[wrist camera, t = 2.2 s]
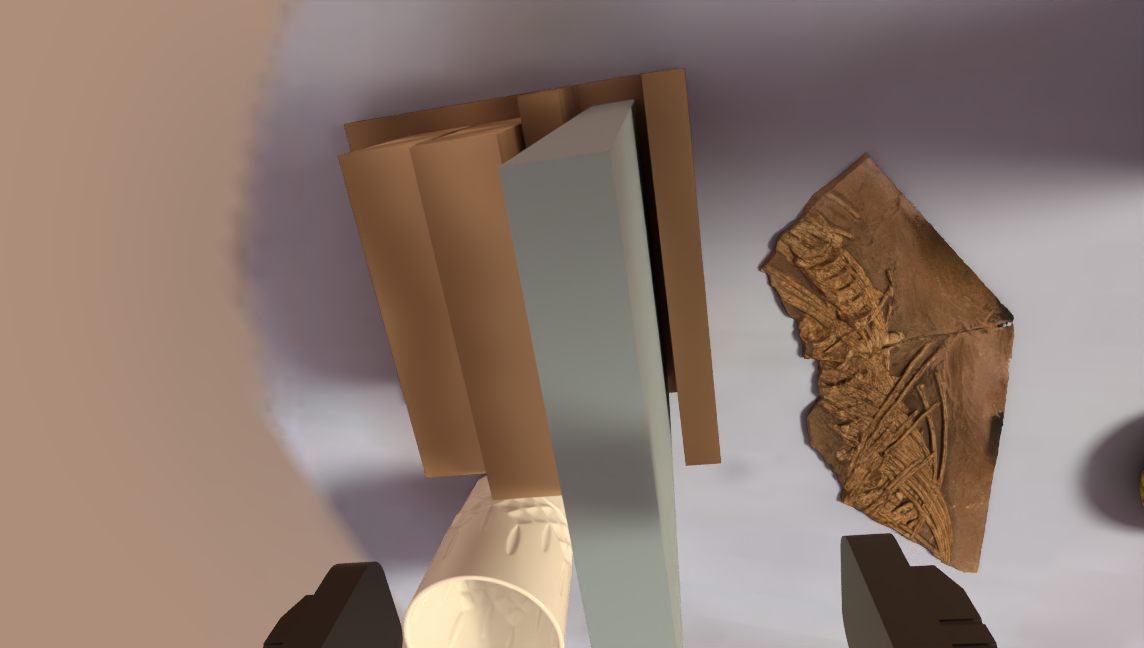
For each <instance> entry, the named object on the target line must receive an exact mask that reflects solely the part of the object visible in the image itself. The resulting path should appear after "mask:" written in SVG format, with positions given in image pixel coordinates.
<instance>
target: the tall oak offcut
mask: <svg viewBox="0 0 1144 648" xmlns="http://www.w3.org/2000/svg"><path fill="white" fill-rule="evenodd" d="M525 149H526V146H525V140H524V134H523V129H522V123H521V118H515V119H509V120H502V121H496V122H490V123H484V124H479V125H476V126H473V127H470V128H467V129H464V130H461V131H458V132H455V133H452V134H449V135H446V136H443V137H440V138H437V139H434V140H431V141H428V142H425V143H422V144H419V145H416V146H413V147H410V148H409V150H410V154H411V159H412V163H413V167H414V171H415V175H416V180H417V184H418V188H419V192H420V196H421V201H422V205H423V209H424V213H425V218H426V222H427V226H428V230H429V234H430V239H431V243H432V247H433V251H434V255H435V260H436V264H437V268H438V272H439V277H440V281H441V285H442V289H443V293H444V298H445V302H446V306H447V310H448V314H449V319H450V323H451V327H452V331H453V335H454V340H455V344H456V348H457V352H458V357H459V361H460V365H461V369H462V373H463V378H464V382H465V386H466V390H467V394H468V399H469V403H470V407H471V411H472V416H473V420H474V424H475V428H476V432H477V437H478V441H479V445H480V449H481V453H482V458H483V462H484V466H485V470H486V474H487V479H488V483H489V487H490V491H491V496H492V500H504V499H519V498H534V497H549V496H562V493H561V488H560V483H559V478H558V473H557V468H556V462H555V457H554V452H553V447H552V442H551V437H550V431H549V426H548V421H547V416H546V411H545V406H544V400H543V395H542V390H541V385H540V380H539V375H538V369H537V364H536V359H535V354H534V349H533V344H532V339H531V333H530V328H529V323H528V318H527V313H526V307H525V302H524V297H523V292H522V287H521V282H520V277H519V271H518V266H517V261H516V256H515V251H514V246H513V240H512V235H511V230H510V225H509V220H508V215H507V209H506V204H505V199H504V194H503V189H502V184H501V178H500V173H499V168H498V167H499V166H501V165H502V164H504V163H505V162H507V161H508V160H510V159H511V158H513V157H514V156H516V155H517V154H519V153H521V152H522V151H524V150H525Z"/></svg>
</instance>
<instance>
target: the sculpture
mask: <svg viewBox="0 0 1144 648" xmlns="http://www.w3.org/2000/svg"><path fill="white" fill-rule="evenodd" d="M1140 491H1141V492H1140V493H1141V496H1140V498H1141V502H1142V505H1143V507H1144V471H1143V472H1142V475H1141V482H1140Z"/></svg>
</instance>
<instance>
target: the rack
mask: <svg viewBox="0 0 1144 648" xmlns="http://www.w3.org/2000/svg"><path fill="white" fill-rule="evenodd" d="M632 99H635V103H636V111H637V120H638V128H639V137H640V145H641V154H642V162H643V170H644V179H645V187H646V196H647V204H648V213H649V221H650V229H651V238H652V246H653V255H654V263H655V272H656V280H657V288H658V297H659V305H660V314H661V322H662V331H663V339H664V347H665V356H666V364H667V373H668V387H669V393H672V392H678V401H679V410H680V419H681V427H682V436H683V445H684V454H685V462H686V466H688V465H702V464H716V463H721V457H720V446H719V435H718V424H717V413H716V403H715V392H714V381H713V370H712V359H711V348H710V338H709V327H708V316H707V305H706V294H705V284H704V273H703V262H702V251H701V240H700V230H699V219H698V208H697V197H696V186H695V175H694V165H693V154H692V143H691V132H690V121H689V111H688V100H687V89H686V78H685V68H674V69H668V70H662V71H656V72H650V73H644V74H639V75H633V76H627V77H621V78H615V79H609V80H603V81H597V82H591V83H585V84H579V85H573V86H567V87H561V88H555V89H549V90H543V91H537V92H531V93H525V94H519V95H513V96H508V97H502V98H496V99H490V100H484V101H478V102H472V103H466V104H460V105H454V106H448V107H442V108H436V109H430V110H424V111H418V112H412V113H406V114H400V115H394V116H388V117H383V118H377V119H371V120H365V121H359V122H353V123H348V124H344V127H345V130H346V134H347V138H348V142H349V145H350V149H351V152H354V151H357V150H361V149H365V148H368V147H372V146H375V145H379V144H382V143H386V142H389V141H393V140H396V139H400V138H403V137H407V136H410V135H416V134H422V133H428V132H435V131H441V130H447V129H453V128H459V127H465V126H471V127H473V126H476V125H479V124H484V123H490V122H496V121H502V120H509V119H515V118H521V123H522V129H523V134H524V140H525V146H526V149H527V148H528V147H530V146H531V145H533V144H534V143H536V142H537V141H539V140H540V139H542V138H543V137H545V136H547V135H548V134H550V133H551V132H553V131H554V130H556V129H557V128H559V127H560V126H562V125H563V124H565V123H566V122H568V121H570V120H571V119H573V118H574V117H576V116H577V115H579V114H580V113H582V112H583V111H585V110H586V109H588V108H589V107H591V106H595V105H601V104H607V103H613V102H620V101H626V100H632Z"/></svg>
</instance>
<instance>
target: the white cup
mask: <svg viewBox="0 0 1144 648" xmlns="http://www.w3.org/2000/svg"><path fill="white" fill-rule="evenodd" d="M572 551H573V550H572V545H571V540H570V535H569V530H568V524H567V519H566V514H565V509H564V504H563V499H562V496H549V497H534V498H519V499H504V500H492V496H491V491H490V487H489V483H488V479H487V475H486V476H484V477H483V478H481V479H479V480H478V481H477V483H476V484H475V486H474V487H473V489H472V491H471V492H470V494H469V496H468V497H467V499H466V501H465V503H464V505H463V507H462V509H461V510H460V511H459V512H458V513H457V515H456V516H455V518H454V520H453V522H452V524H451V526H450V527H449V529H448V530H447V533H446V534H445V536H444V538H443V540H442V542H441V544H440V546H439V548H438V550H437V552H436V554H435V556H434V558H433V560H432V561H431V563H430V565H429V567H428V569H427V571H426V573H425V575H424V577H423V579H422V581H421V583H420V585H419V587H418V589H417V591H416V593H415V595H414V597H413V598H412V600H411V602H410V604H409V606H408V608H407V611H406V613H405V617H404V622H403V634H404V639H405V643H406V646H407V648H564V646H565V634H566V623H567V613H568V602H569V590H570V580H571V570H572Z"/></svg>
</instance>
